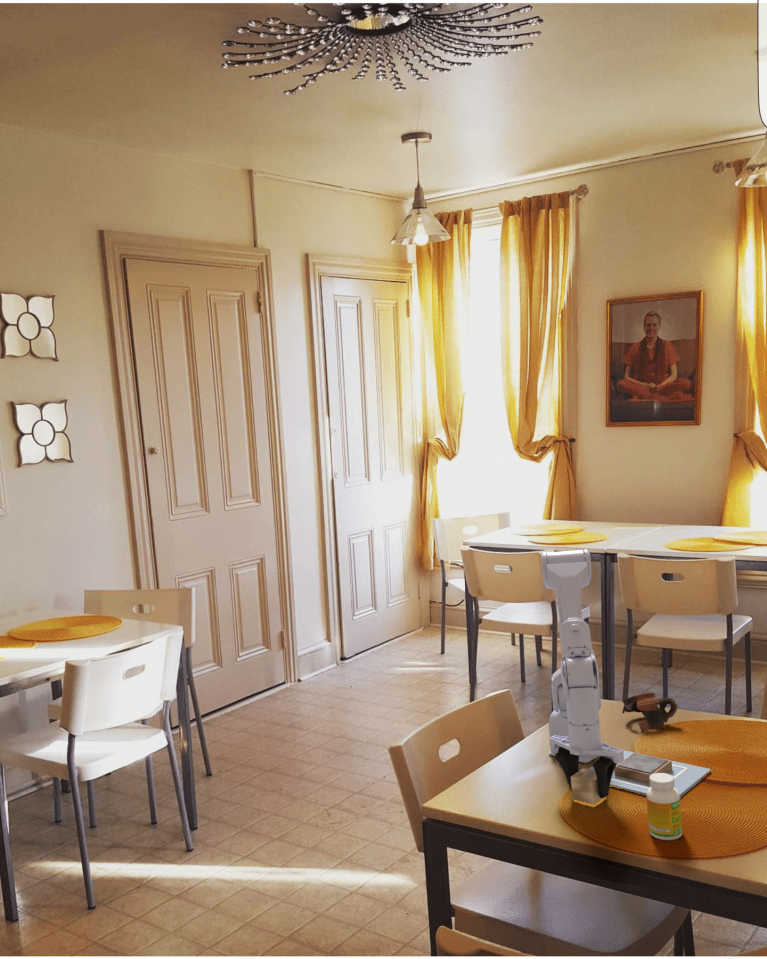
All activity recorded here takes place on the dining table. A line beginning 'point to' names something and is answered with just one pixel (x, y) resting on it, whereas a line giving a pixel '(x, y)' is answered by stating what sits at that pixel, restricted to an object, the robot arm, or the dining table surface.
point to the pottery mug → (650, 710)
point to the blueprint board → (679, 781)
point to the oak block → (585, 786)
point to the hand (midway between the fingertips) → (589, 792)
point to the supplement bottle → (664, 807)
